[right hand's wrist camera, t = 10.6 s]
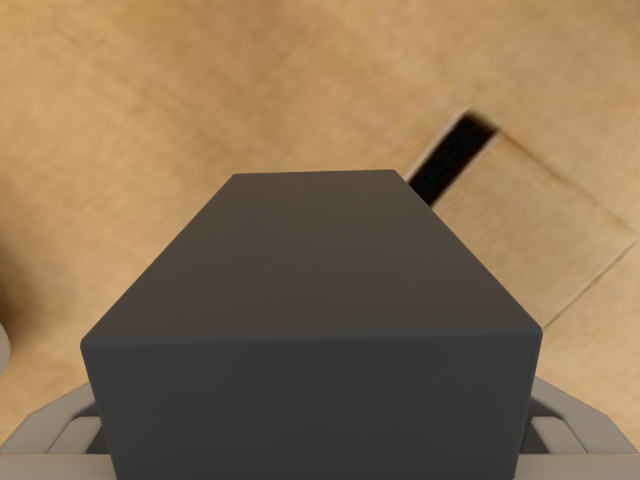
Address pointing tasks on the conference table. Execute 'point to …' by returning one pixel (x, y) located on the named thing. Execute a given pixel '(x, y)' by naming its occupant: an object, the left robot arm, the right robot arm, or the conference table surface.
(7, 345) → the white slotted housing
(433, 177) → the conference table surface
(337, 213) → the bar
